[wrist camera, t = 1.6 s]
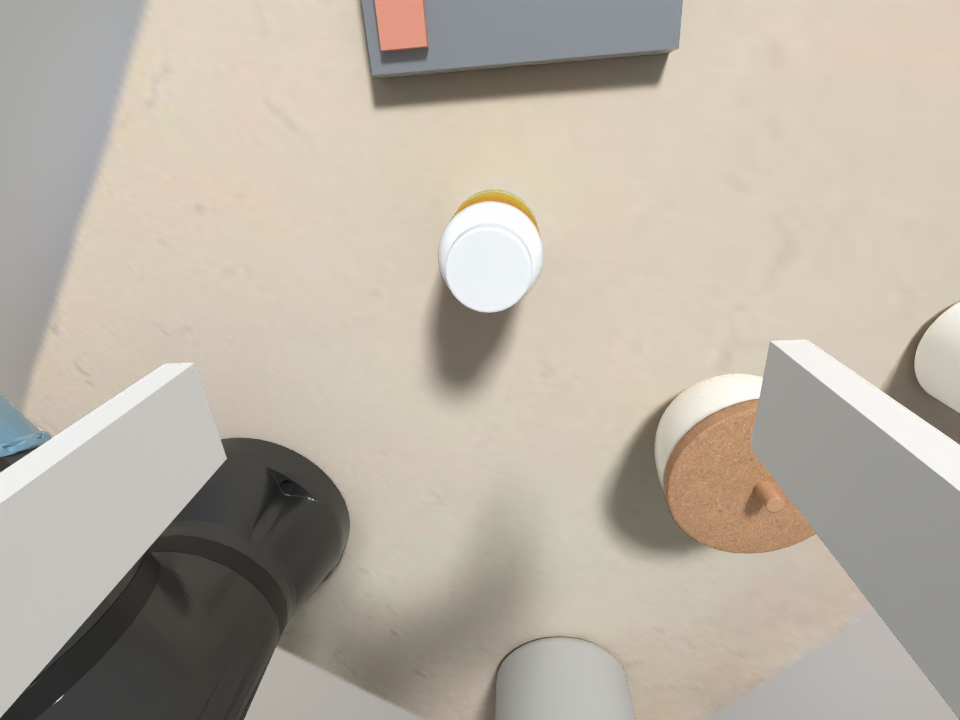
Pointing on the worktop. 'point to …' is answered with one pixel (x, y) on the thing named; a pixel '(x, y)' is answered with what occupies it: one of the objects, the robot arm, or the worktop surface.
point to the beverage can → (941, 358)
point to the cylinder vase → (562, 683)
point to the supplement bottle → (491, 251)
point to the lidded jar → (723, 470)
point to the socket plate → (512, 32)
